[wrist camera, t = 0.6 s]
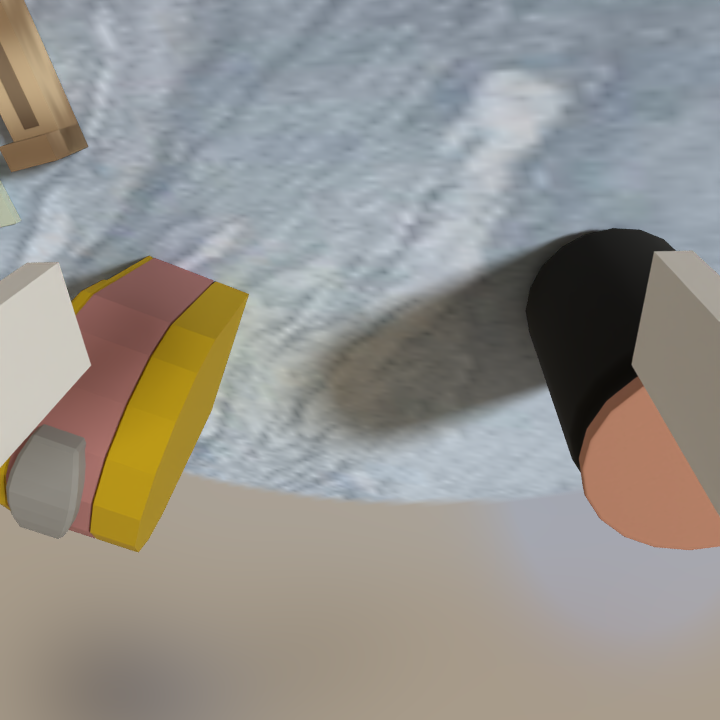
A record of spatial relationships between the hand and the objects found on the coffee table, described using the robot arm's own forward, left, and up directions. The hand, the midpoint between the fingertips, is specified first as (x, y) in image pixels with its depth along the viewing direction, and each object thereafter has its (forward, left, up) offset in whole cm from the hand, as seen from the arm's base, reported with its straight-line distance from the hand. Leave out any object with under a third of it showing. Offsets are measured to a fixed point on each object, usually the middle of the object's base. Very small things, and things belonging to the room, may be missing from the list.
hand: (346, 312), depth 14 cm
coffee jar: (+15, +12, -28) cm, 34 cm away
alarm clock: (+12, -19, -28) cm, 36 cm away
